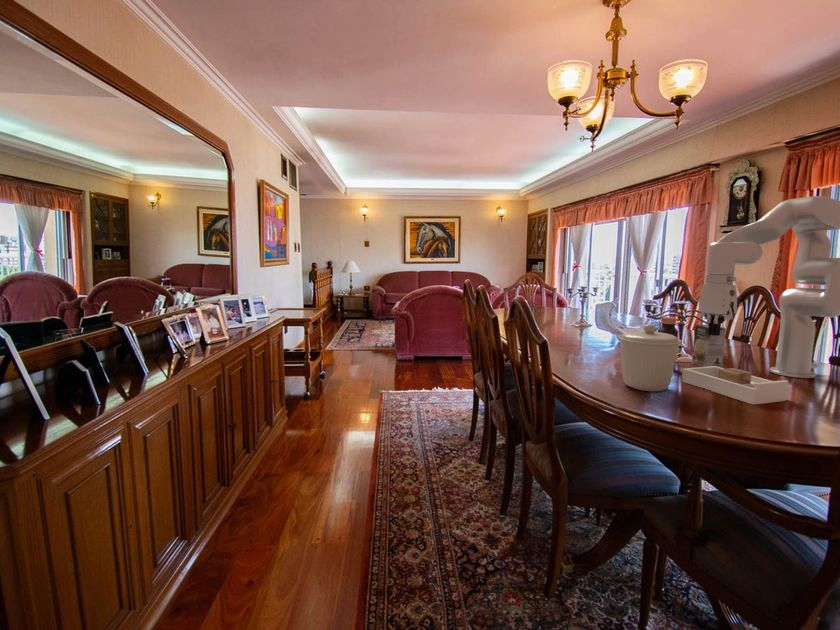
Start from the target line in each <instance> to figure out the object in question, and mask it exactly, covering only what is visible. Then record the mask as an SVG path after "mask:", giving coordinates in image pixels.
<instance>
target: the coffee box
mask: <svg viewBox="0 0 840 630" xmlns="http://www.w3.org/2000/svg"><path fill="white" fill-rule="evenodd" d="M708 328H709V324H695V326H694V336H693V337H694V338H693V346H692V347H693V348H692V356H691V357H692V358H691V359H692V360H691V364H692V365H695V366H698V367H710V366H716V367H720V368H723V358H724V347H725V339H726V328H725V327H721V330H720V335H717V336H712V335H708Z"/></svg>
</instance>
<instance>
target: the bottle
mask: <svg viewBox="0 0 840 630" xmlns="http://www.w3.org/2000/svg"><path fill="white" fill-rule="evenodd" d="M660 319H661V320H660V324H661V327H660V328H658V329H657V332H661V333H666V334H670V335H673V336H675V337H677V338H678V339H679V330H678V329H677V328H676V326H677V317H675V316H674V317H673V316H661V318H660ZM676 363H677V360H676V361H675V365H674V370H673V372H674V371H675V370H676V366H677V365H676Z"/></svg>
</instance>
